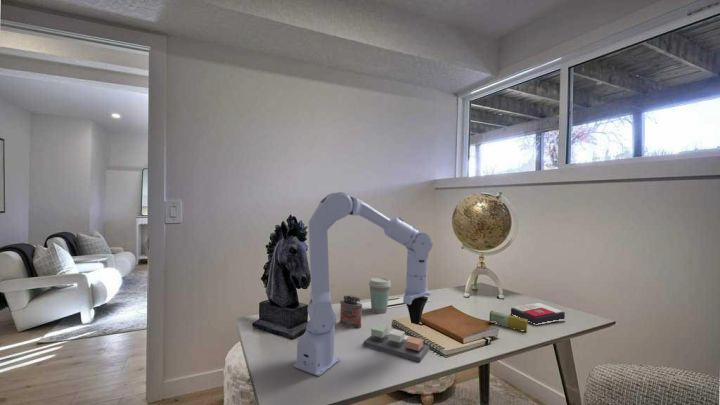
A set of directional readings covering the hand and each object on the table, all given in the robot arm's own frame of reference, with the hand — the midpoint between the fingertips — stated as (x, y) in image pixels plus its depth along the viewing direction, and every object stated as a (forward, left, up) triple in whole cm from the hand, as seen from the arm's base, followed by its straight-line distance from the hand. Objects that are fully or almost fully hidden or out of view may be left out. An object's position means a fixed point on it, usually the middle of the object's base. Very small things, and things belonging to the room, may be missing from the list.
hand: (415, 323), depth 86 cm
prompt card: (+7, +5, -8) cm, 12 cm away
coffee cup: (+25, +23, -9) cm, 35 cm away
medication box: (+37, -21, -9) cm, 43 cm away
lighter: (+7, +25, -9) cm, 27 cm away
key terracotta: (0, 0, -7) cm, 7 cm away
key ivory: (0, +6, -6) cm, 8 cm away
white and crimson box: (+52, -30, -9) cm, 61 cm away
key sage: (0, +11, -6) cm, 12 cm away
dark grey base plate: (0, +5, -8) cm, 10 cm away
